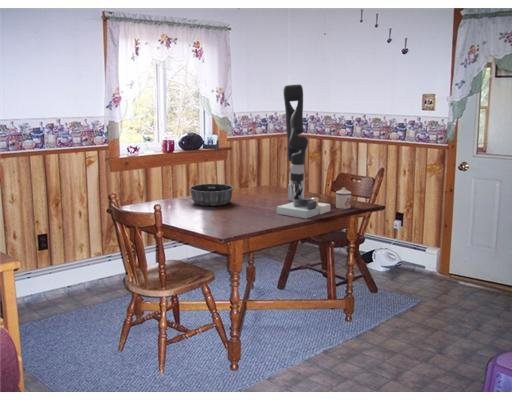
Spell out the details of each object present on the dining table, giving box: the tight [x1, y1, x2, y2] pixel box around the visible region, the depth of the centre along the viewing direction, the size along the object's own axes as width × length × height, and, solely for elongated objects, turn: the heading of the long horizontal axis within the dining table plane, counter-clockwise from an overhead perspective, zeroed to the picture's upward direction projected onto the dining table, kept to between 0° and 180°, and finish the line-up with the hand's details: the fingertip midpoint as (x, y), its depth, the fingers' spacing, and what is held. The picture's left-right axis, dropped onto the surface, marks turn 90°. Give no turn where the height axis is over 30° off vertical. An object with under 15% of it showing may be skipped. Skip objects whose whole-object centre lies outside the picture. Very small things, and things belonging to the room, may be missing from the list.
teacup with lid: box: [335, 187, 352, 210], centre depth 364 cm, size 12×9×12 cm
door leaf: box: [276, 202, 319, 219], centre depth 344 cm, size 19×13×4 cm
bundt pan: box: [189, 183, 235, 207], centre depth 371 cm, size 26×26×10 cm
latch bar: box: [292, 196, 320, 206], centre depth 347 cm, size 14×4×4 cm, turn 106°
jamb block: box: [291, 201, 331, 215], centre depth 354 cm, size 20×11×4 cm, turn 54°
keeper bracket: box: [307, 201, 316, 210], centre depth 339 cm, size 2×6×4 cm, turn 144°
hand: (296, 202), depth 349 cm, fingers closed
